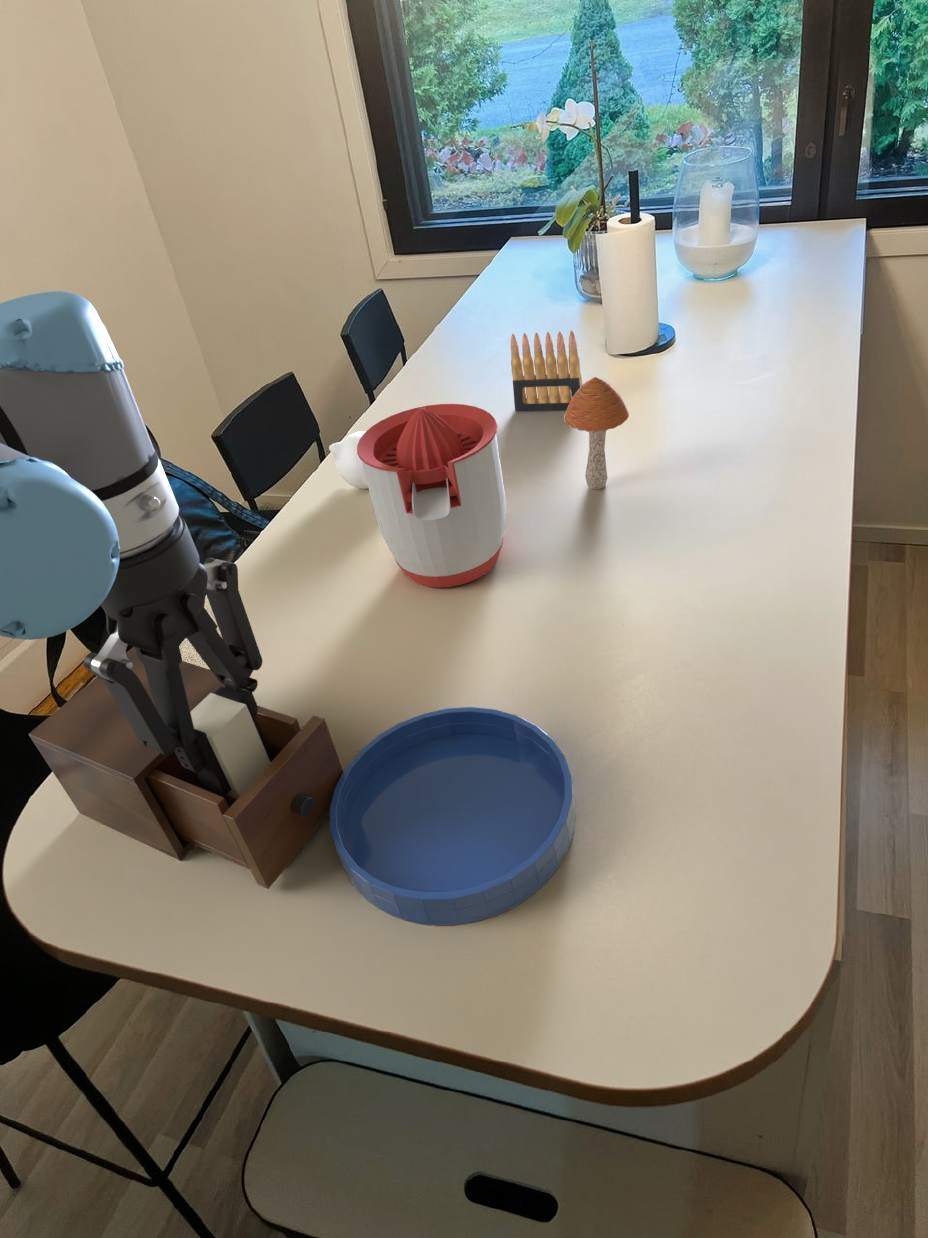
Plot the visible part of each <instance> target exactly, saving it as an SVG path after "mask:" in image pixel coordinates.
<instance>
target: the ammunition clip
mask: <svg viewBox="0 0 928 1238" xmlns="http://www.w3.org/2000/svg"><path fill="white" fill-rule="evenodd" d="M544 345H545V346H544V347H545V357H544V352H543V346H542V341H541V337H540V335H539V334H538V332H535V333H534V338H533V354H534V355H533V356H534V359H533V357H532V351H531V350H532V349H531V344H530V340H529V338H528V336H527V334H526V332H524V333H523V335H522V340H521V347H522V348H521V350H522V357H521V354H520V349H519V344H518V340H517V338H516V335H515V334H514V333H512V334H511V336H510V364H511V374H512V375H511V376H512V390H513V403H514V412H515V413H522V412H523V413H524V412H525V413H526V412H529V413H530V412H562V411H565V412H566V410H567V408H568V405H569V403H570V401H571V399H572V397H573V396H574V395H575V393H576V392H577V391H578V389H579V388H580V387H581V386H582V385H583V379H582V373H581V363H580V356H579V352H578V344H577V338H576V336H575V334H574V331H573V330H570V331H569V335H568V356H567V350H566V344H565V339H564V336H563V333H562V331H558V333H557V338H556V354H555V348H554V343H553V338H552V335H551V333H550V332H549V331H547V332H546V335H545V343H544ZM556 355H557V357H556Z"/></svg>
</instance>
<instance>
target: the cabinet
mask: <svg viewBox="0 0 928 1238" xmlns="http://www.w3.org/2000/svg"><path fill="white" fill-rule="evenodd" d="M126 653H127V656H128V657H129V659H130V661H131V662H132V663H133V667H132V668H131V669H130V670H131V671H133V672H134V673H135V674H136V675H137V677H138V678H139V679H140V681H141V683H142V684H143V686H144V688H145V690H146V691H147V693H148V695H149V697H150V698H151V700H152V702H153V699H152V695H151V691H150V687H149V683H148V679H147V675H146V672H145V668H144V665H143V664H142V663H141V662H140V661H139V659H138V657H137V653H136V650H135V647H133V646H132V647H131V648H130V649H129V650H127V651H126ZM179 667H180V671H181V675H182V679H183V684H184V688H185V692H186V696H187V700H188V705H189V709H190V712H191V711H192V710H193V709H194V708H195V707H196V706H197V705H198V704H199V703H200V702H201V701H203V700H204V699H205V698H206V697H207V696H208V695H209V694H210V693H213V694H215V691H216V690H217V689H218V688H220V687H225V685H224V684H222V683H220V682H219V681H218V679H217V678H216V677H215V675H214V674H213V673H212V671H211V670H210V669H209V668H206V667H204V666H199V665H196V664H193V663H190V662H187V661H184V660H182V663H180V664H179ZM225 688H226V687H225ZM153 704H154V702H153ZM28 736H29V739H31V741H32V742H33V744H34V745H35V747H36V749H37V750H38V751H39V753H40V755H41V756H42V758H43V759H44V761H45V762H46V764H47V765H48V767H49V769H50V770H51V772H52V773H53V775H54V777H55V778H56V779H57V780H58V782H59V784H60V785H61V787H62V788H63V790H64V791H65V793H66V795H67V796H68V797H69V799H70V801H71V802H72V804H73V805H74V807H75V808H76V810H77V811H78V813H79V814H80V815H83V816H85V817H87V818H89V819H91V820H94V821H95V822H98V823H100V824H102V825H104V826H106V827H108V828H110V829H112V830H115V831H116V832H119V833H120V834H123V835H124V836H126V837H129V838H131V839H133V840H136V841H138V842H140V843H142V844H144V845H146V846H148V847H150V848H152V849H154V850H156V851H159V852H161V853H163V854H165V855H167V856H168V857H169V856H170V857H171V858H174V859H176V860H178V861H182V860H183V859H184V858H185V857H186V856H187V855H188V854H189V853H190V851H191V850H192V849H193V848H194V847H195V846H196V845H194V844H192V843H190V842H188V841H185V840H183V839H181V838H179V837H177V836H176V834H175V833H174V831H173V829H172V827H171V825H170V824H169V822H168V820H167V818H166V817H165V815H164V813H163V811H162V810H161V808H160V806H159V804H158V802H157V801H156V799H155V797H154V795H153V794H152V792H151V790H150V788H149V786H148V785H147V783H146V781H145V779H144V778H145V777H146V776H147V775H148V774H150V773H151V772H152V771H153V770H154V769H155V768H156V767H157V766H158V765H159V764H160V763H161V762H162V761H163V760H164V759H165V758H166V757H167V755H164V754H161V753H159V752H156V751H154V750H151V749H149V748H146V747H144V746H143V745H142V744H141V742H140V741H139V739H138V737H137V736H136V734H135V732H134V731H133V729H132V728H131V726H130V724H129V723H128V721H127V719H126V718H125V716H124V714H123V713H122V711H121V709H120V708H119V706H118V705H117V703H116V701H115V700H114V698H113V696H112V695H111V693H110V691H109V690H108V688H107V686H106V685H105V683H104V682H103V680H102V679H101V678H99V677H98V676H96V677H95V678H94V679H93V680H91V681H90V682H89V683H88V684H87V685H86V686H85V687H83V688H82V689H81V690H80V691H79V692H77V693H76V694H75V695H74V696H73V697H71V698H70V699H69V700H68V701H67V702H65V703H64V704H63V705H61V707H59V708H57V710H55V712H53V713H51V715H49V717H47V718H46V719H45V720H43V722H41V723H40V724H39V725H38V726H36V727H35V728H34V729H33V730H31V732H29V733H28Z"/></svg>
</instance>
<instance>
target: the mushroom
mask: <svg viewBox="0 0 928 1238" xmlns="http://www.w3.org/2000/svg"><path fill="white" fill-rule="evenodd" d="M629 416H630V413H629V410H628V407H627V406H626V403H625V401H624V399H623V398H622V396H621V394H620V393H619V392H618V391H617V390H616V388H614V387H613V386H612V385H611V384H610V383H609V382H607V381H606V380H604V379H603V378H599V377H596V376H593V377H592V378H590V379H588V380H586V381H585V382H584V383H582V386H581V387H580V388H579V389H578V391H577V392H576V393H575V395H574V396H573V397H572V399H571V401H570V403H569V405H568V408H567V410H566V411H565V414H564V416H563V420H564V422H565V423H566V425H568V426H569V427H570V428H572V429H576V430H578V431H579V432H580V431H581V432H582V431H583V432H587V433H588V453H587V454H588V455H587V462H586V468H585V476H584V477H585V481H586V482H585V483H586V486H587V487H588V488H589V489H591V490H595V491H597V490H602V489H604V488H605V487H606V485H607V481H608V469H607V461H606V452H605V451H606V449H605V448H606V434H607V431H608V430H613V429H615V428H617V427H619V426H622V425H623V424H624V423H625V422H626V421H627V420H628V419H629Z"/></svg>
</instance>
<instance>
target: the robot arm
mask: <svg viewBox="0 0 928 1238" xmlns="http://www.w3.org/2000/svg"><path fill="white" fill-rule="evenodd" d="M124 368H125V364H124V361H123V359H122V358H121V357H120V356H119V354H118V352H117V349H116V348H115V345H114V343H113V341H112V339H111V337H110V334H109V332H108V330H107V327H106V326H105V324H104V322H102V320H101V318H100V315H99V314H98V311H97V310H96V308H95V307H94V305H93V304H92V303H91V302H90V301H89V300H88V299H87V298H85V297H84V296H82V295H80V294H78V293H73V292H68V291H61V290H55V291H44V292H37V293H33V294H32V293H31V294H27V295H23V296H19V297H16V298H11V299H9V300H5V301H2V302H0V637H4V638H8V639H17V640H28V641H32V640H34V641H35V640H43V639H47V638H51V637H55V636H58V635H60V634H63V633H66V632H67V631H70V630H71V629H73V628H76V627H77V626H78V625H80V624H81V623H83V622H85V621H86V620H87V619H88V618H89V617H90V616H91V615H93V614H94V612H95V611H96V610H98V609H99V608H100V607H101V608H102V610H103V611H104V614H105V618H106V631H107V633H108V635H109V636H108V638H107V639H106V641H105V642H104V644H103V646H102V647H101V648H100V650H99V652H98V653H94V652H90V653H88V654H87V655H86V656H85V657H84V659H83V667H84V668H85V669H86V670H87V671H89V672H90V673H92V674H93V675H94V676H96V677H99V678H101V679H102V680H103V682H104V683H105V685H106V686H107V688H108V690H109V691H110V693H111V695H112V696H113V698H114V700H115V701H116V703H117V705H118V706H119V708H120V709H121V711H122V713H123V714H124V716H125V718H126V719H127V721H128V723H129V724H130V726H131V728H132V729H133V731H134V732H135V734H136V736H137V737H138V739H139V741H140V742H141V744H142V745H143V746H144V747H146V748H149V749H151V750H154V751H156V752H159V753H161V754H164V755H167V756H169V755H171V754H173V753H174V752H175V754H176V756H177V757H178V760H179V762H180V763H181V765H182V766H183V767H184V768H186V769H188V770H191V771H193V772H196V774H197V776H198V778H199V780H200V782H201V784H202V786H204V787H206V788H209V789H211V790H214V791H216V792H218V793H221V794H223V795H227V794H228V793H229V792H230V791H231V790H232V789H231V787H230V785H229V783H228V781H227V778H226V776H225V774H224V772H223V770H222V768H221V766H220V764H219V762H218V759H217V757H216V755H215V753H214V751H213V749H212V747H211V745H210V743H209V740H208V738H207V735H206V733H205V732H202V731H199V730H196V729H194V726H193V721H192V717H191V713H190V709H189V705H188V700H187V696H186V692H185V688H184V684H183V679H182V675H181V671H180V667H179V664H180V663H182V661H183V657H182V653H181V648H180V646H181V645H182V643H184V641H185V639H187V641H188V642H189V643H190V645H191V646H192V647H193V649H194V650H195V652H196V653H197V654H198V655H199V657H200V658H201V659H202V661H203V662H204V664H205V665H206V666H207V667H208V669H210V670H211V671H212V673H213V674H214V675H215V677H216V678H217V679H218V681H219V682H220V683H222V684H224V685H225V687H226V688H225V687H220V688H218V689H217V690H216V691H215V694H216V695H218V696H221V697H224V698H227V699H230V700H233V701H236V702H239V703H243V704H246V706H247V708H248V710H249V713H250V715H251V718H252V720H253V722H254V725H255V727H256V729H257V732H258V734H259V737H260V739H261V741H262V744H263V746H264V748H265V751H266V752H267V751H268V748H267V746H266V743H265V741H264V738H263V736H262V734H261V731H260V729H259V726H258V724H257V722H256V719H255V717H254V716H255V715H256V714H257V713H258V706H259V705H258V703H257V701H256V699H255V695H254V692H255V691H256V690H257V688H258V680H257V679H256V678H252V677H251V676H252V674H253V672H254V671H258V670H260V669H261V668H262V665H263V657H262V654H261V651H260V649H259V645H258V643H257V640H256V636H255V633H254V631H253V628H252V625H251V623H250V620H249V617H248V614H247V611H246V608H245V605H244V602H243V599H242V595H241V593H240V590H239V572H238V571H239V569H238V565H237V564H236V563H235V562H231V561H226V560H222V559H218V558H214V557H207V558H206V559H205V560H204V562H203V564H202V563H200V555H199V552H198V549H197V547H196V545H195V542H194V540H193V538H192V535H191V532H190V530H189V528H188V525H187V522H186V520H185V518H184V517H183V516H181V515H180V514H179V512H180V507H179V505H178V502H177V500H176V497H175V494H174V492H173V489H172V487H171V484H170V482H169V479H168V477H167V475H166V473H165V470H164V467H163V465H162V462H161V460H160V458H159V456H158V453H157V450H156V449H155V446H154V445H153V442H152V440H151V436H150V435H149V432H148V429H147V427H146V424H145V422H144V419H143V417H142V414H141V411H140V408H139V406H138V403H137V400H136V398H135V396H134V393H133V391H132V388H131V385H130V383H129V380H128V377H127V375H126V373H125V369H124ZM206 597H207V600H208V602H209V606H210V608H211V611H212V614H213V616H214V618H212V616H211V615H210V614H209V612H208V611H207V609H206V608H205V603H206ZM214 619H215V621H214ZM217 629H218V630H219V632H218V630H217ZM128 646H131V647H132V648H133V647H135V650H136V653H137V657H138V659H139V661H140V662H141V663H142V664H143V665H144V668H145V672H146V675H147V679H148V683H149V687H150V691H151V695H152V699H153V702H154V704H153V702H152V700H151V698H150V697H149V695H148V693H147V691H146V690H145V688H144V686H143V684H142V683H141V681H140V679H139V678H138V677H137V675H136V674H135V673H134V672H133V671H131V670H130V669H131V668H132V667H133V663H132V662H131V661H130V659H129V657H128V656H127V649H128Z"/></svg>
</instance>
